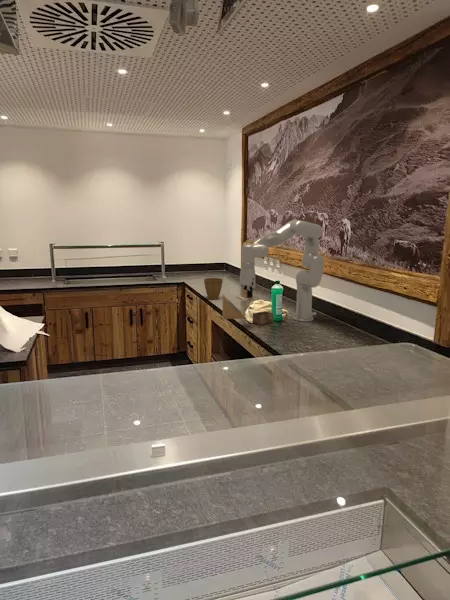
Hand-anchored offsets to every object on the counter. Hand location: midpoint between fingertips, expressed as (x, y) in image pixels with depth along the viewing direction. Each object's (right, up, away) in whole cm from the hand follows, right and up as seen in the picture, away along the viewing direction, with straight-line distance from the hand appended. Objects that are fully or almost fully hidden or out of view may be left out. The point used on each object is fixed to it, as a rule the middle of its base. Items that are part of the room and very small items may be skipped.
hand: (247, 296), depth 250 cm
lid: (0, -1, 0) cm, 1 cm away
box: (+10, -16, +10) cm, 22 cm away
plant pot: (-23, -2, +84) cm, 87 cm away
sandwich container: (-7, -14, +25) cm, 29 cm away
